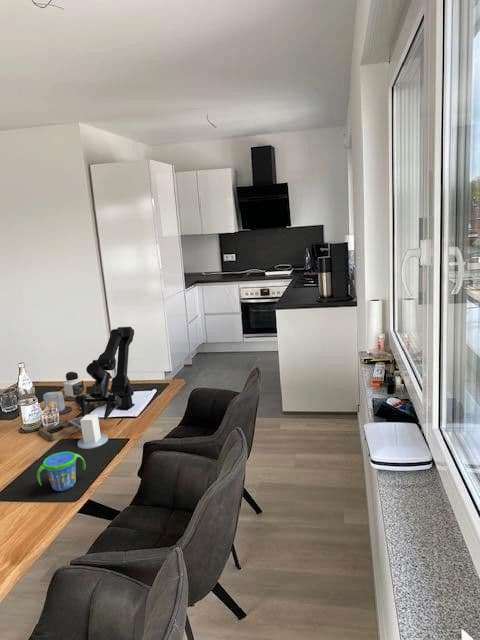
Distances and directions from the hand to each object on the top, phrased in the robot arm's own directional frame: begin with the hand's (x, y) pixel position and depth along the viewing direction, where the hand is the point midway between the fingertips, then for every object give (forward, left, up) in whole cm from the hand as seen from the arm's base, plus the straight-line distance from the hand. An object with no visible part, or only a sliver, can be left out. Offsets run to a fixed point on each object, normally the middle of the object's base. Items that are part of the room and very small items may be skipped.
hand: (94, 419), depth 199 cm
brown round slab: (+25, -34, -8) cm, 43 cm away
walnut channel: (+20, 0, -8) cm, 22 cm away
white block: (-1, +4, -7) cm, 8 cm away
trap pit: (+15, -11, -8) cm, 20 cm away
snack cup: (-11, +34, -8) cm, 37 cm away
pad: (-1, +4, -8) cm, 9 cm away
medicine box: (+39, -22, -8) cm, 46 cm away
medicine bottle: (+43, -42, -8) cm, 61 cm away
